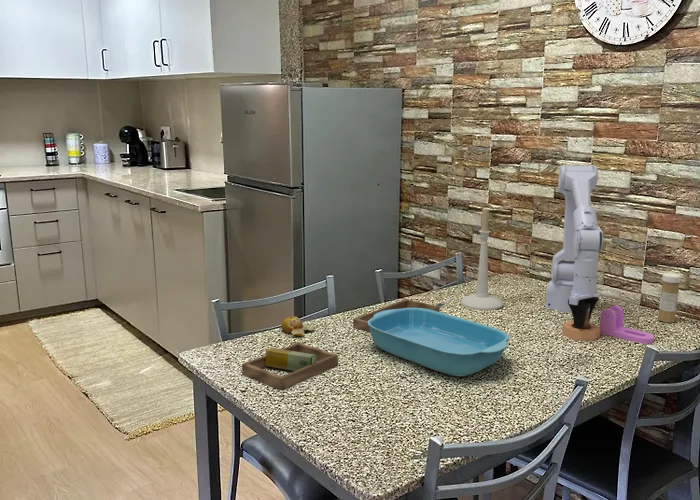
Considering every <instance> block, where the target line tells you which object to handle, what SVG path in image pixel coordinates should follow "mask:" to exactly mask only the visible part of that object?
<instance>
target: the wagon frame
mask: <svg viewBox="0 0 700 500" xmlns="http://www.w3.org/2000/svg"><path fill="white" fill-rule="evenodd" d="M435 305H436V304H435ZM435 305H434V304H431V303H426V302H421V301H417V300H413V299H408V298H405V299H402V300H400V301H397V302H394V303H392V304H390V305H387V306H384V307H382V308H379V309H376V310H373V311H371V312H367V313H366V314H363V315H360V316H358V317H357V316H356V317H355V318H353V319H352V327H353V329H356V330H360V331H364V332H366V333H370V334H371V332H370V329H369V326H368V321H369V320H370V319H371V318H373V316H374V314H376V313H378V312H381V311H385V310H392V309H403V308H424V309H429V310H433V311H437V312H441V307H440V306H435Z"/></svg>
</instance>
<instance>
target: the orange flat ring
mask: <svg viewBox="0 0 700 500" xmlns="http://www.w3.org/2000/svg"><path fill="white" fill-rule="evenodd" d="M561 332H562V334H563V335H564V336H565V337H566V338H567V339H571V340H576V341H581V342H582V341H583V342H584V341H587V342H588V341H596V340H597V339H599V338H600V337H601V335H600V334H601V333H600V326H598V325H596V324H595V323H593V322H589V323H588V329H583V330H581V329H577V328H575V326H574V321H573V320H569V321H568V320H567V321H566V322H565V323H563V324H562V331H561Z"/></svg>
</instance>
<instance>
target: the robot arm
mask: <svg viewBox="0 0 700 500" xmlns="http://www.w3.org/2000/svg"><path fill="white" fill-rule="evenodd" d="M598 172H599V171H598V167H597V166H596V165H594V164H593V165H565V164H561V166H560V167H559V172H558V185H557V189H558V193H560V194H562V195H563V196H564V200H565V203H564V204H565V205H564V220H563V221H564V222H563V238H562V239H563V243H562V249H561V250H559V251H558V252H557V253H555V254H553V257H552V262H551V269H550V270H551V271H550V275H551V276H550V277H551V280H550V281H549V282H548V283H547V286H546V289H545V290H546V291H545V305H544V307H545V309H548V310H549V309H550V310H555V311H558V312H563V313H571V315H572V321H574V326H576V327H581V328H582V327H583V326H584V323H585V318H586V314H587V311H588V309H589V307H590V311H589V322H590V321H591V317H592V315H593V312H594V308H595V307H596V305H597V303H598V302H599V301H600V297H601V293H600V292H598V290H599V289H598V288H599V286H598V285H597V283H598V282H597V279H598V269H599V268H598V267H599V259H600V258H599V256H600V253H601V252H602V250H603V245H604V235H603V234H604V233H603V229H601V227H600V226H599V225H598V224H599V223H598V216H597V210H596V209H595V208H594V207H592V202H591V199H592V198H591V196H592V195H591V194H592V191H594V190H595V187H596V186H597V185H598V179H599V173H598Z"/></svg>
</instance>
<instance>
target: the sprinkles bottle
mask: <svg viewBox="0 0 700 500" xmlns="http://www.w3.org/2000/svg"><path fill="white" fill-rule="evenodd" d="M681 276H682V275H680V274H678V273H672V272H665V273H663V274H662V277H661V280H662V283H661V293H660V297H659V307H658V316H657V320H658V321H660V322H664V323H674V322H676V314H677V309H678V300H679V291H680V290H679V289H680V283H681V280H682V277H681Z"/></svg>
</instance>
